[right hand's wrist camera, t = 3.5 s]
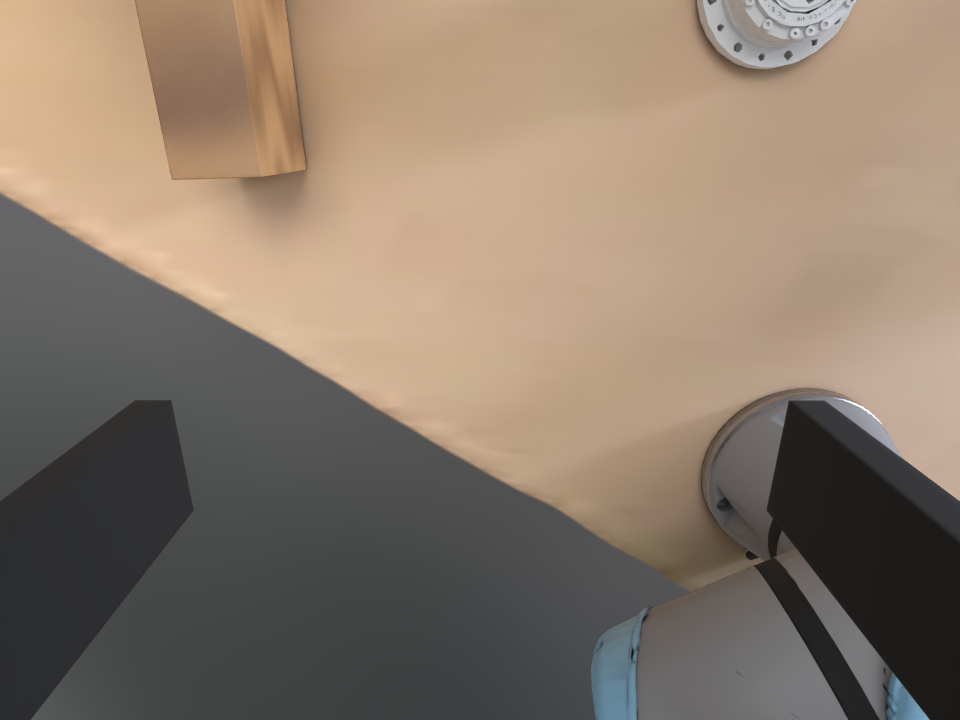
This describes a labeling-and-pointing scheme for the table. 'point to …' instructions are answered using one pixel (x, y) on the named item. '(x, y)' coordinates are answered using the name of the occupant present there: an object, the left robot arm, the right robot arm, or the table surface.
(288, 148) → the wooden box
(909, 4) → the table surface
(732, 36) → the mechanical component
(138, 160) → the table surface
